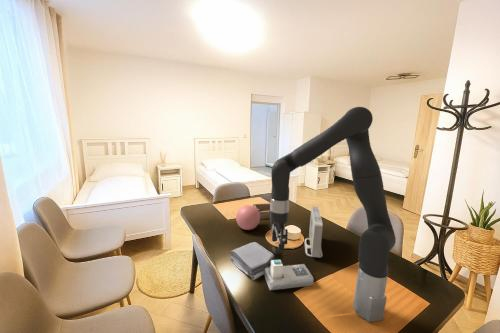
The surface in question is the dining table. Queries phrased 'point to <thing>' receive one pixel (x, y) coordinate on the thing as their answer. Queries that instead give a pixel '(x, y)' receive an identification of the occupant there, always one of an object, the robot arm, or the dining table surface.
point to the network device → (315, 233)
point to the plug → (276, 269)
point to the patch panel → (289, 277)
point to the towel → (252, 259)
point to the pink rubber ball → (248, 217)
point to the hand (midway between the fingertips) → (277, 246)
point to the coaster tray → (263, 207)
